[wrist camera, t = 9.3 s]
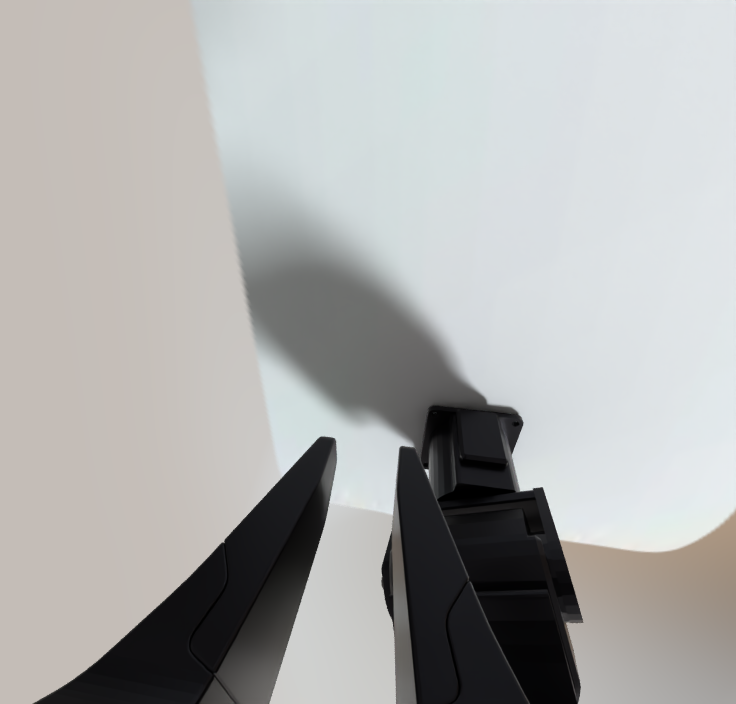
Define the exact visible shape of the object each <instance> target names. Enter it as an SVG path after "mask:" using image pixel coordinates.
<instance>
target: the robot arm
mask: <svg viewBox="0 0 736 704" xmlns="http://www.w3.org/2000/svg"><path fill="white" fill-rule="evenodd" d="M433 412H436V414H434V413H433ZM514 421H517V422H514ZM522 426H523V420H522V418H521V416H519V415H515V414H505V413H496V412H487V411H478V410H469V409H460V408H450V407H441V406H432V407H430V408H429V409H428V412H427V419H426V425H425V431H424V438H423V444H422V450H421V457H419V455H418V452H417V450H416V449H415V448H413V447H406V446H401V447H400V448H399V457H398V467H397V477H396V489H395V500H394V511H393V523H392V532H391V535H390V539H389V542H388V546H387V550H386V553H385V557H384V561H383V564H382V587H383V589H384V595H385V601H386V605H387V609H388V612H389V614H390V616H391V618H392V621H393V627H394V637H395V675H396V704H578V701H579V697H580V688H581V686H580V680H579V675H578V670H577V665H576V661H575V655H574V650H573V647H572V643H571V640H570V636H569V632H568V628H567V625H566V623H567V622H568V623H583V619H582V616H581V612H580V608H579V605H578V602H577V598H576V595H575V591H574V588H573V584H572V581H571V577H570V574H569V571H568V567H567V564H566V561H565V557H564V554H563V551H562V547H561V544H560V541H559V538H558V534H557V531H556V528H555V525H554V522H553V519H552V515H551V512H550V509H549V506H548V503H547V499H546V496H545V493H544V490H543V487H541V488H533V490H530V491H521V492H520V488H519V484H518V480H517V476H516V472H515V468H514V463H513V459H512V453H513V450H514V447H515V445H516V442H517V440H518V437H519V434H520V432H521V429H522ZM336 463H337V451H336V440H335V438H332V437H320V438H318V439H317V440H316V441H315V443H314V444H313V445H312V446H311V447H310V448H309V449H308V450H307V451H306V452H305V453H304V454H303V456H302V457H301V458H300V459H299V460H298V461H297V462H296V463H295V464H294V465H293V466H292V467H291V469H290V470H289V471H288V472H287V473H286V474H285V475H284V476H283V477H282V478H281V479H280V481H279V482H278V483H277V484H276V485H275V486H274V487H273V488H272V489H271V490H270V491H269V492H268V493H267V495H266V496H265V497H264V498H263V499H262V500H261V501H260V502H259V503H258V504H257V505H256V506H255V507H254V509H253V510H252V511H251V512H250V513H249V514H248V515H247V516H246V517H245V518H244V519H243V520H242V522H241V523H240V524H239V525H238V526H237V527H236V528H235V529H234V530H233V531H232V532H231V534H230V535H229V536H228V537H227V538H226V539H225V541H224V542H225V543H221V544H220V545H219V546H218V547H217V548H216V550H215V551H214V552H213V553H212V554H211V555H210V556H209V557H208V558H207V559H206V560H205V561H204V562H203V563H202V564H201V565H200V566H199V567H198V568H197V570H196V571H195V572H194V573H193V574H192V575H191V576H190V577H189V578H188V579H187V580H186V581H185V582H183V583H182V584H181V585H180V586H179V587H178V588H177V589H176V590H175V591H174V592H173V593H172V594H171V595H170V596H169V597H167V598H166V599H165V601H163V602H162V603H161V604H160V605H159V606H158V607H157V608H156V609H154V610H153V611H152V612H151V613H150V614H149V615H148V616H147V617H146V618H145V619H143V620H142V621H141V622H140V623H139V624H138V625H137V626H136V627H135V628H134V629H132V630H131V631H130V632H129V633H128V634H127V635H126V636H125V637H124V638H122V639H121V640H120V641H119V642H118V643H117V644H116V645H115V646H114V647H113V648H111V649H110V650H109V651H108V652H107V653H106V654H105V655H104V656H103V657H102V658H101V659H99V660H98V661H97V662H96V663H94V664H93V665H92V666H91V667H89V668H88V669H87V670H86V671H84V672H83V673H82V674H80V675H79V676H77V677H76V678H75V679H73V680H72V681H70V682H69V683H67V684H66V685H64V686H63V687H61V688H59V689H58V690H56V691H54V692H53V693H51V694H49V695H47V696H46V697H44V698H42V699H40V700H39V701H37V702H35V703H33V704H269V702H270V699H271V696H272V693H273V689H274V686H275V683H276V679H277V676H278V673H279V670H280V667H281V664H282V660H283V657H284V654H285V651H286V648H287V644H288V641H289V638H290V635H291V631H292V628H293V625H294V622H295V618H296V615H297V612H298V609H299V605H300V603H301V599H302V596H303V593H304V590H305V586H306V583H307V580H308V577H309V574H310V570H311V567H312V564H313V561H314V558H315V554H316V551H317V548H318V544H319V541H320V538H321V535H322V532H323V528H324V525H325V521H326V516H327V511H328V506H329V501H330V496H331V490H332V485H333V480H334V475H335V469H336ZM424 469H429V479H428V477H427V474H426V472H425V470H424Z"/></svg>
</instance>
